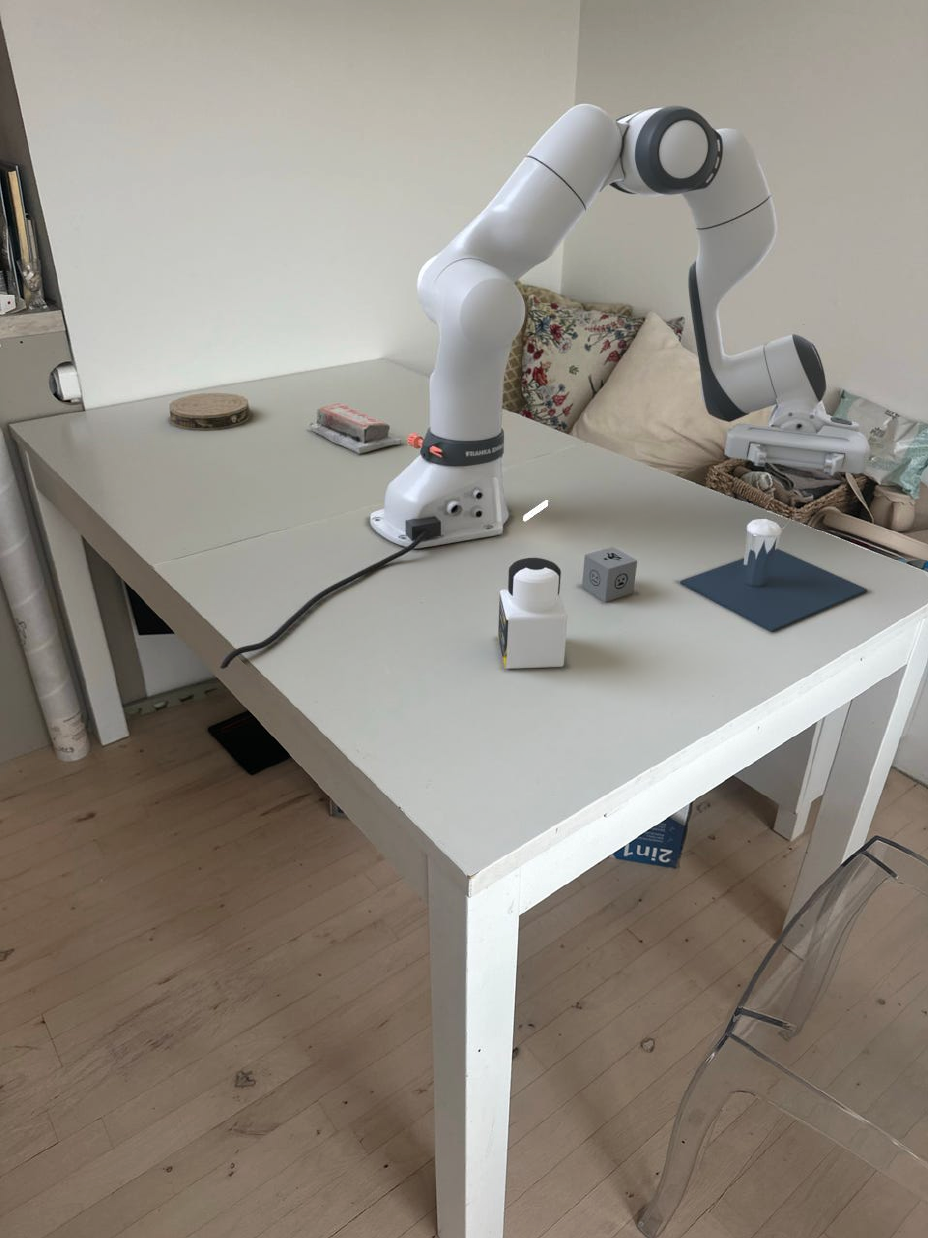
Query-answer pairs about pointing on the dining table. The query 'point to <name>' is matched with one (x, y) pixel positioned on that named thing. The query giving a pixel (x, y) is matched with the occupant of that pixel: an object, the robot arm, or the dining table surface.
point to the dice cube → (609, 574)
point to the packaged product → (352, 429)
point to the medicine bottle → (532, 616)
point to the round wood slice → (209, 411)
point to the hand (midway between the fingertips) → (794, 465)
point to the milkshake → (760, 550)
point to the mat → (775, 591)
